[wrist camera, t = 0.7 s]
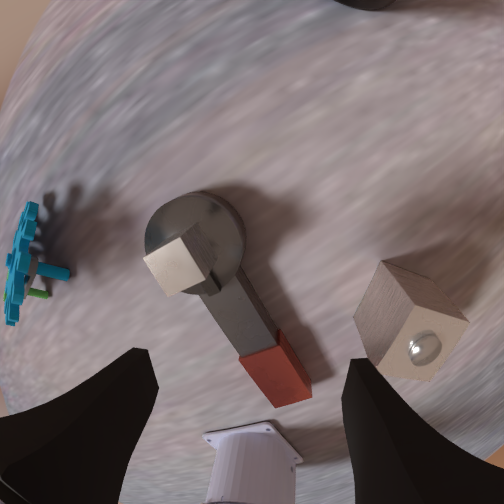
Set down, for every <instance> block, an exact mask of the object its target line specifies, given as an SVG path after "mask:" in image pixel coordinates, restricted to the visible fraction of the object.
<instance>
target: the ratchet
mask: <svg viewBox="0 0 504 504" xmlns="http://www.w3.org/2000/svg"><path fill="white" fill-rule="evenodd" d="M245 247H246V232H245V227H244V224H243V221H242V219H241V217H240V215H239V214H238V212H237V211H236V210H235V209H234V207H233V206H232V205H231V204H230V203H228V202H227V201H226V200H224V199H223V198H221V197H219V196H217V195H214V194H211V193H207V192H192V193H187V194H184V195H182V196H180V197H178V198H176V199H174V200H172V201H170V202H168V203H166V204H164V205H163V206H161V207H160V208H159V209H158V210H157V211H156V212H155V213H154V214H153V216H152V217H151V219H150V221H149V223H148V225H147V228H146V232H145V251H146V256H145V257H144V258H143V259H144V261H145V262H146V264H147V266H148V267H149V269H150V270H151V272H152V274H153V275H154V277H155V278H156V280H157V281H158V283H159V284H160V286H161V288H162V289H163V291H164V292H165V294H166V295H167V297H170V296H172V295H174V294H176V293H178V292H180V291H181V292H184V293H188V294H197V295H199V296H200V298H201V299H202V301H203V302H204V304H205V305H206V307H207V308H208V310H209V311H210V313H211V314H212V316H213V317H214V319H215V320H216V322H217V323H218V325H219V326H220V328H221V329H222V331H223V332H224V333H225V335H226V336H227V338H228V339H229V341H230V342H231V344H232V345H233V346H234V348H235V349H236V351H237V352H238V353H239V355H240V356H239V361H240V363H241V364H242V365H243V367H244V368H245V370H246V371H247V372H248V374H249V375H250V376H251V378H252V379H253V380H254V382H255V383H256V384H257V385H258V387H259V388H260V389H261V391H262V392H263V393H264V395H265V396H266V397H267V398H268V400H269V401H270V402H271V404H272V405H273V406H274V407H275V408H278V407H282V406H286V405H289V404H292V403H296V402H299V401H302V400H306V399H309V398H312V388H311V380H310V378H309V376H308V375H307V373H306V371H305V370H304V368H303V366H302V365H301V363H300V361H299V360H298V358H297V356H296V355H295V353H294V351H293V350H292V348H291V346H290V344H289V343H288V341H287V339H286V338H285V336H284V334H283V333H282V331H281V329H279V330H278V329H277V328H276V326H275V324H274V323H273V321H272V319H271V317H270V316H269V314H268V312H267V311H266V309H265V307H264V306H263V304H262V302H261V301H260V299H259V297H258V295H257V294H256V292H255V290H254V289H253V287H252V285H251V283H250V282H249V280H248V278H247V277H246V275H245V273H244V271H243V270H242V268H241V266H240V262H241V260H242V257H243V254H244V251H245Z"/></svg>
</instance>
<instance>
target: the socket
mask: <svg viewBox="0 0 504 504" xmlns="http://www.w3.org/2000/svg"><path fill="white" fill-rule="evenodd" d="M353 318H354V321H355V324H356V326H357V329H358V332H359V335H360V337H361V340H362V343H363V346H364V349H365V351H366V354H367V357H368V359H369V360H370V361H371V362H372V364H373V365H374V366H375V367H376V368H377V370H378V371H379V372H380V373H381V374H382V375H388V376H394V377H400V378H407V379H413V380H420V381H428V382H430V380H431V379H432V378H433V377H434V375H435V374H436V373H437V371H438V370H439V369H440V367H441V366H442V364H443V363H444V362H445V360H446V359H447V357H448V356H449V355H450V353H451V352H452V350H453V349H454V347H455V346H456V344H457V343H458V341H459V340H460V338H461V336H462V335H463V333H464V332H465V330H466V328H467V327H468V325H469V323H470V322H469V320H468V319H467V318H466V317H465V316H464V315H463V314H462V313H461V311H460V310H459V309H458V308H457V307H456V306H455V305H454V304H453V303H452V302H451V300H450V299H449V298H448V297H447V296H446V295H445V294H444V293H443V292H442V291H441V290H440V289H439V288H438V287H437V286H436V285H435V284H434V283H433V282H432V281H431V280H430V279H428V278H426V277H423V276H420V275H418V274H415V273H412V272H410V271H407V270H404V269H402V268H399V267H396V266H393V265H391V264H388V263H385V262H382V261H380V263H379V265H378V268H377V270H376V272H375V274H374V276H373V278H372V280H371V283H370V285H369V287H368V289H367V291H366V293H365V295H364V297H363V299H362V301H361V303H360V305H359V307H358V309H357V310H356V312H355V314H354V316H353Z"/></svg>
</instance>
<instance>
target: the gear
mask: <svg viewBox="0 0 504 504" xmlns="http://www.w3.org/2000/svg"><path fill="white" fill-rule="evenodd" d="M38 206H39V204H37V203H34V202H31V201H30V202H28V201H27V203H26V206H25V209H24V212H22V214H21V217H20V220H19V225H18V230H16V233H15V236H14V240H13V249H12V254H9V253H8V254H7V259H6V266H8V269H9V270H8V275H7V280H6V287H5V291H4V301H5V306H4V314H6V316H5V321H6V325H11V326H15V322H18V321H19V305H22V303H23V299H26V296H27V295H30V296H35V297H39V298H44V299H47V298H48V291H43V290H38V289H34V288H30V287H31V285H32V282H33V280H34V278H35V276H36V274H38V275H42V276H47V277H51V278H55V279H59V280H64V281H68V279H69V274H70V271H69V269H65V268H61V267H57V266H53V265H49V264H46V263H42V262H38V257H34V256H31V254H29V253H28V248H29V243H30V240H31V241H33V239H34V235H35V231H36V226H37V222H35V221H34V220H35V218H36V216H37V213H38ZM24 275H25V277H24Z"/></svg>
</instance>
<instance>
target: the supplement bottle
mask: <svg viewBox="0 0 504 504" xmlns="http://www.w3.org/2000/svg"><path fill="white" fill-rule="evenodd" d="M334 1H336V2H338V3H341V4H343V5H346V6H350V7H353V8H358V9H380V8H384V7H387V6H389V5H391V4H392V3H394V2H395V1H396V0H334Z"/></svg>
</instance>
